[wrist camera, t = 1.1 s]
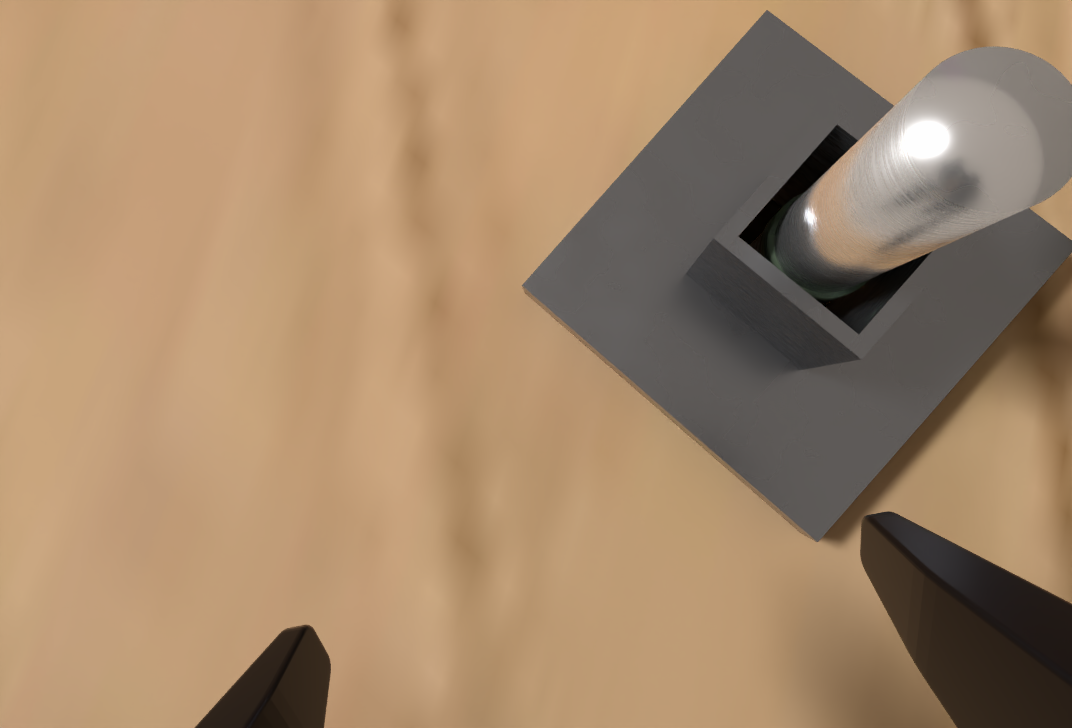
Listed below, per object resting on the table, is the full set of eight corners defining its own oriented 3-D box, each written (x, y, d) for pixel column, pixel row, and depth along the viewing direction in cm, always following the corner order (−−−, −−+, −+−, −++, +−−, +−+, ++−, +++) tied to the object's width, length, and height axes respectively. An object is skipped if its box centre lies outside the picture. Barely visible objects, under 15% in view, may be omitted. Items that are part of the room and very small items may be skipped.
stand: (1044, 256, 22) (1215, 199, 16) (801, 533, 22) (884, 579, 16) (755, 35, 24) (814, -92, 18) (525, 293, 24) (507, 253, 18)
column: (846, 268, 22) (1136, 116, 11) (785, 337, 22) (1011, 258, 11) (774, 211, 23) (978, 3, 11) (714, 278, 23) (858, 140, 11)
